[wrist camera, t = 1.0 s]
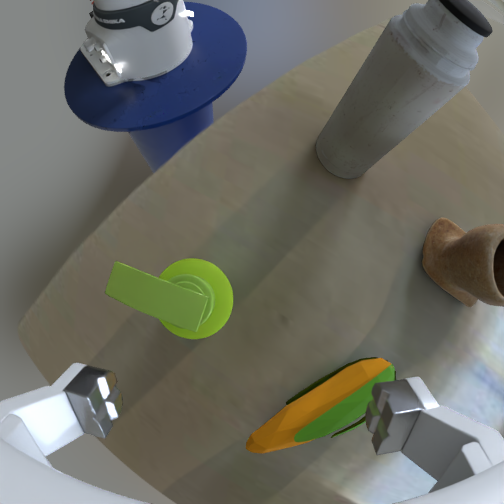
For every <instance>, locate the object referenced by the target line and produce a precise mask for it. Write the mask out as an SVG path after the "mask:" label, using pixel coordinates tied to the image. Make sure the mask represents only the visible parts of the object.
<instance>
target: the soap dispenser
mask: <svg viewBox="0 0 504 504" xmlns="http://www.w3.org/2000/svg"><path fill="white" fill-rule="evenodd" d="M105 294H107V295H108V296H110V297H112V298H114V299H116V300H118V301H120V302H122V303H124V304H126V305H128V306H130V307H132V308H134V309H136V310H139V311H141V312H143V313H146V314H148V315H151V316H153V317H156V318H158V319H159V320H160V321H161V323H162V324H163V325H164V326H165V327H166V328H167V329H168V330H169V331H171V332H172V333H174V334H175V335H177V336H180V337H183V338H187V339H201V338H205V337H208V336H211V335H212V334H214V333H216V332H217V331H219V330H220V329H221V328H222V327H223V326H224V325H225V323H226V322H227V320H228V318H229V316H230V314H231V311H232V307H233V292H232V288H231V285H230V283H229V281H228V279H227V277H226V276H225V274H224V273H223V272H222V271H221V270H220V269H219V268H218V267H217V266H215V265H214V264H212V263H210V262H208V261H205V260H201V259H195V258H190V259H183V260H180V261H177V262H175V263H173V264H171V265H170V266H169V267H167V268H166V269H165V270H164V271H163V272H162V274H161V275H160V276H159V278H158V277H155V276H152V275H150V274H147V273H145V272H142V271H140V270H138V269H135V268H133V267H130V266H128V265H126V264H123V263H120V262H117V261H115V263H114V266H113V269H112V272H111V275H110V278H109V281H108V284H107V287H106V291H105Z"/></svg>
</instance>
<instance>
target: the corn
mask: <svg viewBox="0 0 504 504" xmlns="http://www.w3.org/2000/svg"><path fill="white" fill-rule="evenodd" d="M394 380H396V371H395V368H394V366H393V364H391V363H389V362H388V361H387V360H384V359H382V358H376V357H372V358H364V359H359V360H356V361H354V362H351V363H348V364H346V365H344V366H343V367H341V368H339V369H337V370H336V371H334V372H332V373H330V374H328V375H326V376H325V377H323V378H321V379H319V380H318V381H316V382H315V383H313V384H312V385H310V386H308V387H307V388H305V389H304V390H302V391H301V392H299V393H298V394H296V395H295V396H294V397H292V398H291V399H289V400H288V401H287V402H286V404H287V406H285V407H284V408H283V409H282V410H281V411H279V412H278V413H277V414H276V415H275V416H273V417H272V418H271V419H270V420H269V421H267V422H266V423H265V424H264V425H262V426H261V427H260V428H259V429H257V430H256V431H255V432H254V433H252V434H251V436H250V437H249V439H248V441H247V442H246V449H247V450H249V451H250V452H253V453H266V452H271V451H276V450H280V449H284V448H288V447H292V446H296V445H300V444H304V443H307V442H310V441H312V440H314V439H317V438H320V437H323V436H325V435H328V434H330V433H332V432H334V431H336V430H338V429H340V428H342V427H344V426H346V425H347V424H349V423H351V422H352V421H354V420H355V419H357V418H358V417H360V416H361V415H363V414H364V413H366V408H367V405H368V403H369V402H370V401H371V400H372V399H373V396H372V394H371V391H372V388H373V386H374V384H375V383H379V382H387V381H394ZM365 418H366V416H365V417H363V418H362V419H361V420H359V421H358V422H356V423H355V424H353V425H351V426H349V427H347V428H345V429H344V430H341V431H339V432H337V433H335V434H334V435H332V436H331V438H333V437H335V436H338V435H341V434H343V433H346V432H348V431H351V430H353V429H355V428H357V427H358V426H360V425H362V424H363V423H365V422H366V419H365Z"/></svg>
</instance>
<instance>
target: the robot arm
mask: <svg viewBox="0 0 504 504" xmlns="http://www.w3.org/2000/svg"><path fill="white" fill-rule="evenodd" d="M90 1H91V0H90ZM92 4H93V11H92V12H90V13H89V14H90V16H91V20H90V21H89V22H88V23H87V25H86V27H85V31H86V34H87V36H88V38H87V39H86V40H85V42H84V43H83V45H82V46H81V48H80V50H81V52H82V54H83V55H84V57H85V58H86V59H87V61H88V62H89V64H90V65H91V66H92V68H93V69H94V70H95V72H96V73H97V74H98V76H99V77H100V78H101V80H102V81H103V82H104V84H105V85H106V86H108V87H110V86H114V85H117V84H120V83H123V82H127V81H141V80H147V79H151V78H155V77H158V76H161V75H163V74H165V73H167V72H169V71H171V70H173V69H174V68H176V67H177V66H179V65H180V64H181V63H182V62H183V61H184V60H185V59H186V58H187V57H188V55H189V54H190V52H191V50H192V45H193V42H192V38H191V31H192V29H193V22H192V21H191V20H189V19H188V18H187V15H188V16H193V12H192V11H188V10H185V6H184V2H183V0H93V2H92ZM117 382H118V381H117V378H116V375H115V373H114V372H112V371H110V370H105V369H101V368H97V367H93V366H89V365H84V364H80V363H73V364H72V365H71V366H70V367H69V368H68V369H67V370H66V371H65V372H64V373H63V374H62V375H61V376H60V377H59V378H58V379H57V380H56V382H55V383H54V384H53V385H52V386H51V387H49V386H45V387H42V388H39V389H36V390H33V391H31V392H27V393H24V394H21V395H18V396H15V397H12V398H9V399H5V400H2V401H0V504H151V503H147V502H143V501H139V500H136V499H132V498H129V497H125V496H122V495H119V494H116V493H113V492H110V491H107V490H104V489H101V488H99V487H96V486H93V485H90V484H88V483H86V482H83V481H81V480H78V479H76V478H74V477H71V476H69V475H67V474H65V473H62V472H60V471H58V470H56V469H54V468H52V465H51V464H50V462H49V461H48V460H47V458H46V457H45V456H47V455H49V454H51V453H52V452H54V451H56V450H57V449H59V448H61V447H62V446H64V445H66V444H68V443H69V442H71V441H73V440H75V439H76V438H78V437H80V436H81V435H83V434H84V433H87V434H91V435H94V436H97V437H101V438H106V437H107V435H108V433H109V432H110V430H111V428H112V427H113V424H112V420H113V419H115V418H117V417H118V416H119V415H120V413H121V411H122V406H123V398H122V394H121V391H120V390H119V389H118V388H117V387H116V386H115V385H116V384H117ZM371 394H372V396H373V399H372V400H371V401H370V402H369V403H368V405H367V408H366V418H365V419H366V425H367V428H368V431H370V432H371V433H373V434H374V435H373V437H372V443H373V446H374V449H375V452H376V455H380V454H386V453H392V452H398V451H401V452H402V453H403V454H404V455H405V456H407V457H408V458H409V459H410V460H412V461H413V462H414V463H415V464H417V465H418V466H419V467H420V468H422V469H423V470H424V471H425V472H427V473H428V474H429V475H431V476H432V477H433V478H434V479H436V480H437V483H436V484H435V485H434V486H433V488H432V489H431V490H430V491H429V493H428V494H425V495H422V496H419V497H415V498H412V499H408V500H405V501H401V502H397V503H394V504H504V439H503V437H502V436H501V434H500V433H499V432H498V430H496V429H493V428H491V427H489V426H487V425H484V424H482V423H480V422H478V421H476V420H473V419H471V418H469V417H467V416H465V415H463V414H461V413H458V412H456V411H454V410H452V409H450V408H448V407H446V406H444V405H442V406H439V405H438V403H437V402H436V400H435V399H434V397H433V396H432V394H431V393H430V391H429V390H428V388H427V387H426V385H425V384H424V382H423V381H422V379H421V378H420V377H418V376H417V377H411V378H405V379H401V380H394V381H387V382H379V383H375V384H374V386H373V388H372V391H371Z"/></svg>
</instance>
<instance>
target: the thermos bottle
mask: <svg viewBox="0 0 504 504" xmlns="http://www.w3.org/2000/svg"><path fill="white" fill-rule="evenodd" d="M491 33H492V27H491V25H490V24H489V22H488V21H487V19H486V18H485V17H484V16H483V15H482V13H481V12H480V11H479V10H478V9H477V8H476V7H475V6H474V5H473V4H471V3H470V2H469V1H468V0H428V2H427V3H426V4H425V5H424V4H418V3H416V4H412V5H411V6H410V7H409V9H408V10H406V11H404V12H403V15H396V16H394V17H393V18H391V20H390V21H389V23H388V25H387V26H386V28H385V29H384V31H383V33H382V34H381V36H380V38H379V39H378V41H377V42H376V44H375V46H374V47H373V49H372V50H371V52H370V54H369V55H368V57H367V59H366V60H365V62H364V63H363V65H362V67H361V68H360V70H359V72H358V73H357V75H356V76H355V78H354V80H353V81H352V83H351V85H350V86H349V88H348V89H347V91H346V93H345V94H344V96H343V98H342V99H341V101H340V102H339V104H338V106H337V107H336V109H335V111H334V112H333V114H332V115H331V117H330V119H329V120H328V122H327V124H326V125H325V127H324V129H323V130H322V132H321V133H320V135H319V137H318V139H317V143H316V151H317V155H318V157H319V160H320V161H321V163H322V164H323V166H324V167H325V168H326V169H327V170H328V171H330V172H331V173H333V174H334V175H336V176H339V177H341V178H349V179H352V178H356V177H359V176H361V175H362V174H363V173H364V172H366V171H367V170H368V169H369V168H371V167H372V166H373V165H374V164H375V163H376V162H377V161H379V160H380V159H381V158H382V157H383V156H385V155H386V154H387V153H388V152H389V151H390V150H392V149H393V148H394V147H395V146H396V145H398V144H399V143H400V142H401V141H402V140H403V139H405V138H406V137H407V136H408V135H409V134H410V133H412V132H413V131H414V130H415V129H416V128H417V127H419V126H420V125H421V124H422V123H423V122H424V121H426V120H427V119H428V118H429V117H430V116H431V115H433V114H434V113H435V112H436V111H437V110H438V109H439V108H441V107H442V106H443V105H444V104H445V103H446V102H448V101H449V100H450V99H451V98H452V97H453V96H454V95H456V94H457V93H458V92H459V91H460V90H461V89H463V88H464V87H465V86H466V85H467V84H468V83H469V80H470V73H469V70H473V69H474V68H475V66H476V64H477V63H478V59H479V58H478V54H477V50H476V48H477V46H478V45H479V44H480V43H481V42H482V41H483V37H488V36H489V35H490V34H491Z"/></svg>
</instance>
